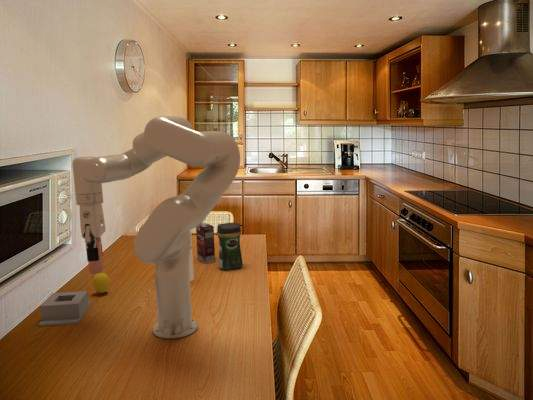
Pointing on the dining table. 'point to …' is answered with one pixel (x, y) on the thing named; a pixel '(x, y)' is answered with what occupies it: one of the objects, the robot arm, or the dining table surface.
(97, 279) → the lemon
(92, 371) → the dining table surface
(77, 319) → the socket
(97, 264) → the peg
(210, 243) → the supplement box
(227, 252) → the coffee jar
